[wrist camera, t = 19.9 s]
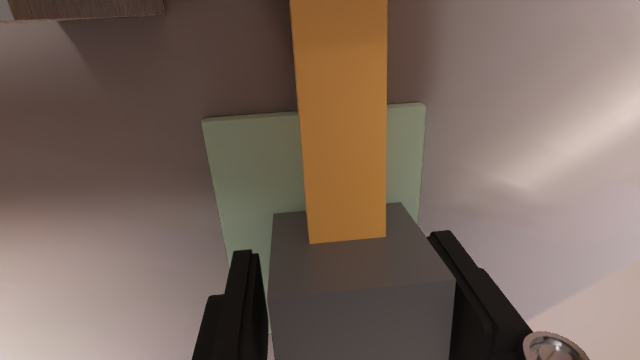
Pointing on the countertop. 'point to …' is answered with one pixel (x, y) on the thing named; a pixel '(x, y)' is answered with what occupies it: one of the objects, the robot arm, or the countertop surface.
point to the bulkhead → (76, 9)
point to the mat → (292, 172)
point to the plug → (350, 209)
